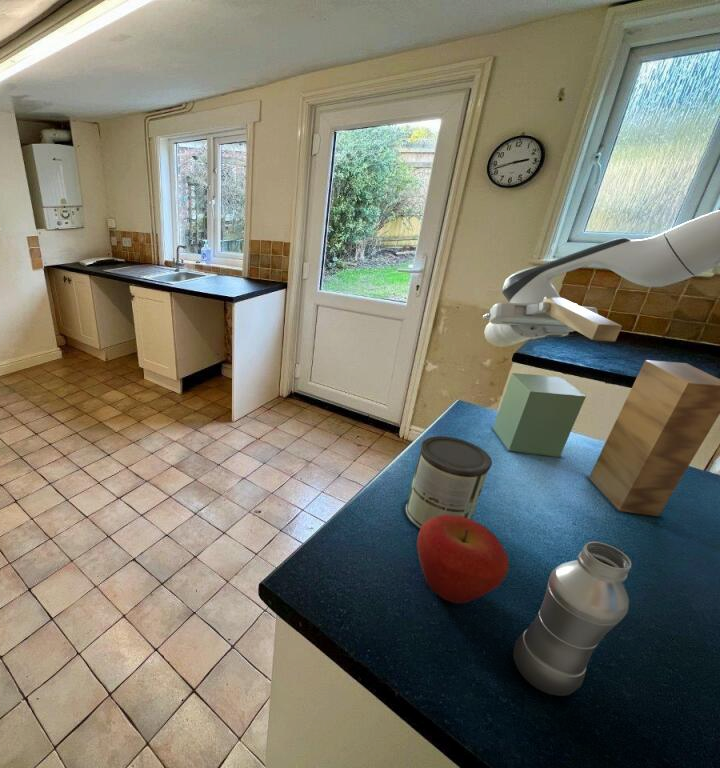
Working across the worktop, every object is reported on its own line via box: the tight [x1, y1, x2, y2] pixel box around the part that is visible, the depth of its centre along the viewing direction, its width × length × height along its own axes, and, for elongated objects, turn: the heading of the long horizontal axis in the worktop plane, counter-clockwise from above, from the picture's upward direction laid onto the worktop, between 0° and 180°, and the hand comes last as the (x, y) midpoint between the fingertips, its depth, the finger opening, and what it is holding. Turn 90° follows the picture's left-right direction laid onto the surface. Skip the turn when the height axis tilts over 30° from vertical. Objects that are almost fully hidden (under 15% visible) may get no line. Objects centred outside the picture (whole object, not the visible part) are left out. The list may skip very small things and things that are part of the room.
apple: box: [416, 515, 510, 604], centre depth 58 cm, size 11×11×12 cm
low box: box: [492, 372, 587, 458], centre depth 94 cm, size 10×10×15 cm
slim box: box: [543, 297, 623, 342], centre depth 84 cm, size 4×21×3 cm, turn 166°
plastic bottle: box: [512, 541, 632, 697], centre depth 46 cm, size 6×7×20 cm
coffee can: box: [405, 435, 493, 530], centre depth 72 cm, size 10×10×14 cm
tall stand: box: [588, 359, 720, 517], centre depth 74 cm, size 6×10×26 cm, turn 166°
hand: (560, 306), depth 89 cm, fingers closed on slim box, 3 cm apart
